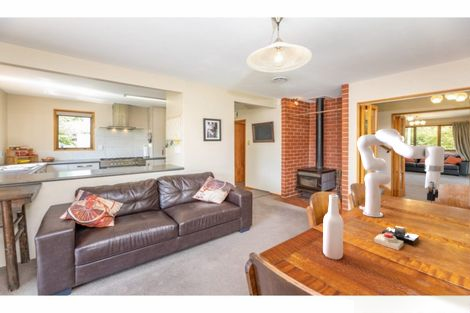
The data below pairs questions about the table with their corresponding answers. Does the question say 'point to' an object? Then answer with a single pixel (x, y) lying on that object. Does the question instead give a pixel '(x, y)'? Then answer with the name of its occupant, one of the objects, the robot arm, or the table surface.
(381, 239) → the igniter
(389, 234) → the button
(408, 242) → the panel
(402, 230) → the hob knob
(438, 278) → the table surface
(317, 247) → the table surface
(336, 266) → the table surface
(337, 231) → the alcohol
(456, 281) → the table surface
